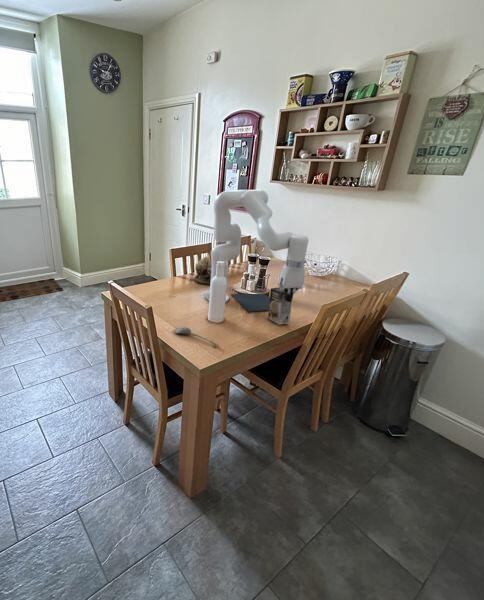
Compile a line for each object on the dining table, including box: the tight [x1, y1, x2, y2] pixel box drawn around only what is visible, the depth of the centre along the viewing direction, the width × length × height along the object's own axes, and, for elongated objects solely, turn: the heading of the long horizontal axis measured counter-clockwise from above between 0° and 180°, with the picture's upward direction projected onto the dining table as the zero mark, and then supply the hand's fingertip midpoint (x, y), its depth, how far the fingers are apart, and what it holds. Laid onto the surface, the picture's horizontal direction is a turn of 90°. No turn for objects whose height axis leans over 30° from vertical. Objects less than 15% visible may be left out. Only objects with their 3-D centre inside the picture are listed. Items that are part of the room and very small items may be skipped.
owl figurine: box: [193, 255, 212, 286], centre depth 212 cm, size 18×12×17 cm, turn 43°
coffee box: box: [267, 287, 293, 326], centre depth 160 cm, size 9×6×16 cm
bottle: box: [207, 261, 228, 324], centre depth 159 cm, size 8×8×30 cm
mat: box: [230, 292, 270, 313], centre depth 185 cm, size 20×24×1 cm
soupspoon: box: [174, 326, 219, 347], centre depth 146 cm, size 22×3×7 cm
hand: (288, 300), depth 153 cm, fingers closed
